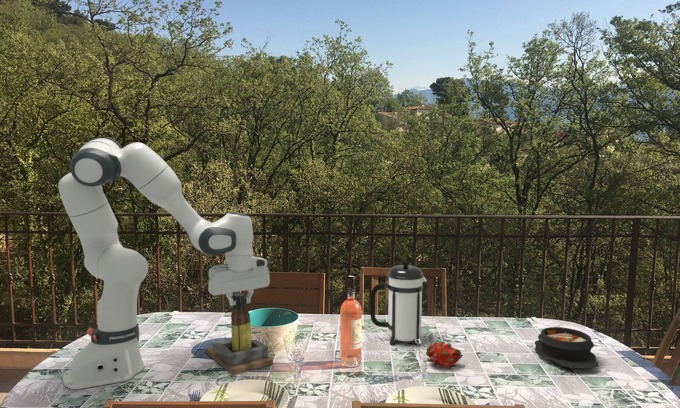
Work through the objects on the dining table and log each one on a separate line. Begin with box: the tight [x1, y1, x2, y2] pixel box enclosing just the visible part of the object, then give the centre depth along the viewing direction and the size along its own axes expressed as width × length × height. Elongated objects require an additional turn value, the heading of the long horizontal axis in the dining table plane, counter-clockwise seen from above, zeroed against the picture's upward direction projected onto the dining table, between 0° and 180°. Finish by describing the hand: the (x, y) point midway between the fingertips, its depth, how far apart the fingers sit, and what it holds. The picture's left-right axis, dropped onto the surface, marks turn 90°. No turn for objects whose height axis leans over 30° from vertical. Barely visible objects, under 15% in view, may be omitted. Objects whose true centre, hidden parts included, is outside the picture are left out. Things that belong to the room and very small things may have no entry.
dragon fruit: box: [425, 341, 464, 369], centre depth 156 cm, size 8×8×12 cm
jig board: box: [205, 337, 274, 376], centre depth 162 cm, size 14×22×5 cm, turn 37°
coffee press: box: [369, 259, 428, 346], centre depth 177 cm, size 17×16×30 cm
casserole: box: [534, 326, 600, 370], centre depth 162 cm, size 25×19×8 cm
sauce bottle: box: [230, 292, 252, 353], centre depth 159 cm, size 6×6×20 cm
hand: (240, 304), depth 158 cm, fingers closed on sauce bottle, 4 cm apart
